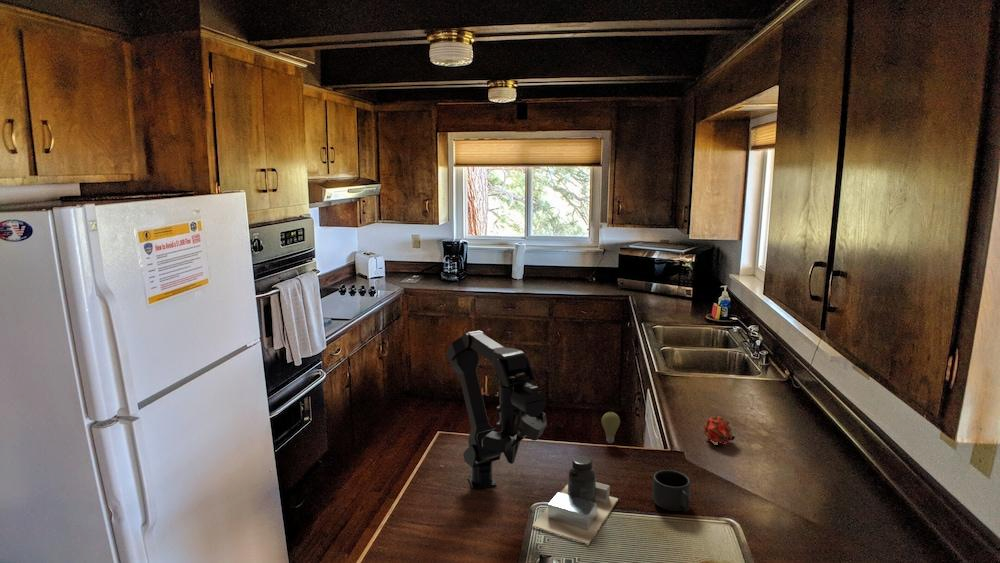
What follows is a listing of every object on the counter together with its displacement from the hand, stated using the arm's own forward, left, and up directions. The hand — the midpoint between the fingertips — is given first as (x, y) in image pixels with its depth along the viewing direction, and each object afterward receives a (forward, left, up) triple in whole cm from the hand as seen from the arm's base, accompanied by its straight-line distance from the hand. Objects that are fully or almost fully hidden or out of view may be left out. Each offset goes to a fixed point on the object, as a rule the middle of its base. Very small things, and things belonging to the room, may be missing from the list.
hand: (511, 462), depth 140 cm
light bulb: (-26, +40, -12) cm, 49 cm away
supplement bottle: (+4, +17, -12) cm, 21 cm away
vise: (+7, +15, -12) cm, 20 cm away
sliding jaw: (+9, +13, -11) cm, 19 cm away
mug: (+11, +39, -12) cm, 42 cm away
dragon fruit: (-17, +72, -12) cm, 75 cm away
